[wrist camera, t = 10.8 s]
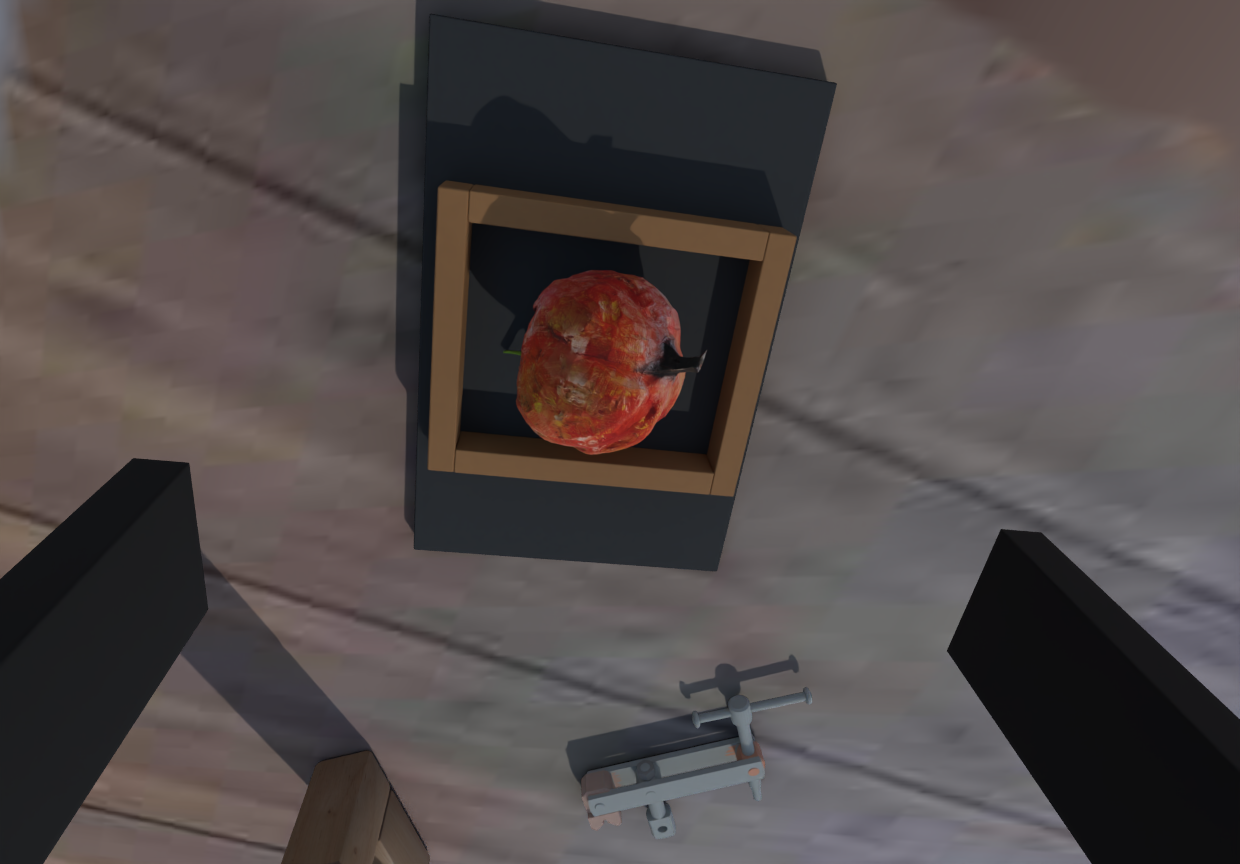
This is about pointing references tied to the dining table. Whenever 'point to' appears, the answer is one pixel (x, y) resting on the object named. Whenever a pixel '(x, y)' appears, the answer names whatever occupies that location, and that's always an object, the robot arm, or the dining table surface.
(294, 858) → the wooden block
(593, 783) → the clamp
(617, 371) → the red round lump
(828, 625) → the dining table surface
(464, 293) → the back pad
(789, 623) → the dining table surface
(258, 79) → the dining table surface
